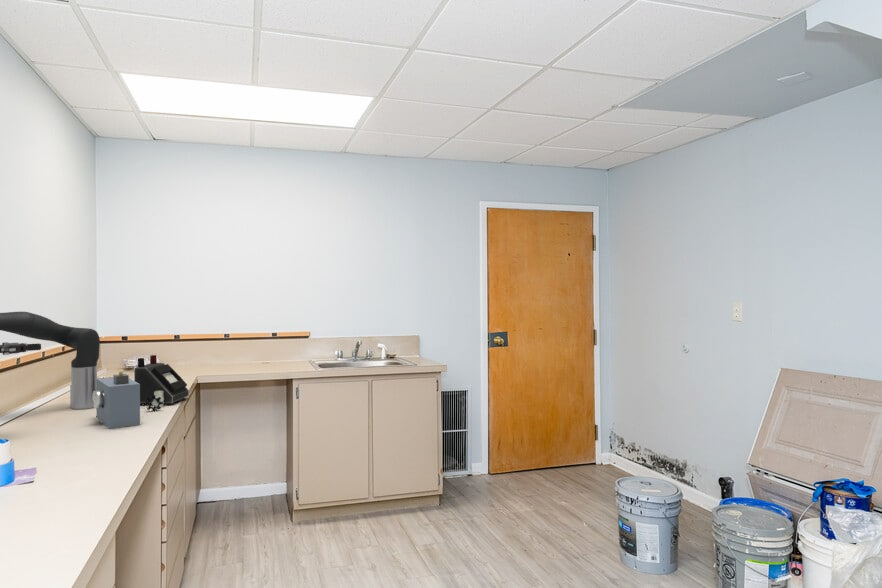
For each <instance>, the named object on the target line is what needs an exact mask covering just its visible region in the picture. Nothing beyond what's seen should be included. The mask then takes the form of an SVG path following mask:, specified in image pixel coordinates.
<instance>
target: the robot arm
mask: <svg viewBox="0 0 882 588" xmlns="http://www.w3.org/2000/svg"><path fill="white" fill-rule="evenodd" d="M0 331H1V332H7V333H11V334H15V335H18V336H22V337H26V338H29V339H35V340H41V341H49V342H54V343H58V344H61V345H64V346H65V347H67V348H68V347H69V348H72V349H73V350H76V354H75V357H74V358H73V359H72V360H71V362H70V365H71V368H70V369H71V372H70V373H71V377H70V378H71V384H70V385H69V386H70V388H69V389H70V390H69V391H70V393H69V395H70V403H69V404H70V408H71V409H72V410H85V409H86V410H87V409H92V408H93V409H94V407H93V401H92V396H93V391H96V379H98V360H99V357H100V346H101V345H100V344H101V343H100V341H101V340H100V339H101V338H100V336H99V335H100V334H99V333H98V332H97V331H96V330H95V329H93V328H89V327H88V328H86V327H73V326H68V325H64V324H63V325H62V324H60V323H57V322H56V321H53V320H52V319H50V318H48V317H45V316H42V315H41V314H40V315H39V314H36V313H32V312H29V311H10V312H9V311H8V312H7V311H6V312H0ZM40 350H42V344H41V343H25V342H24V343H23V342H22V343H20V342H2V344H0V354H2V355H3V356H9V355H12V354H13V355H14V354H15V355H17V354H20V353H26V352H28V351H30V352H31V351H40Z"/></svg>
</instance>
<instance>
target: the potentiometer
mask: <svg viewBox="0 0 882 588" xmlns="http://www.w3.org/2000/svg"><path fill="white" fill-rule="evenodd" d="M129 377H130V375H129V374H127V373H124V369H119V370H118V374H113V381H114V384H116V385H119V384H129V379H130V378H129Z"/></svg>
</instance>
